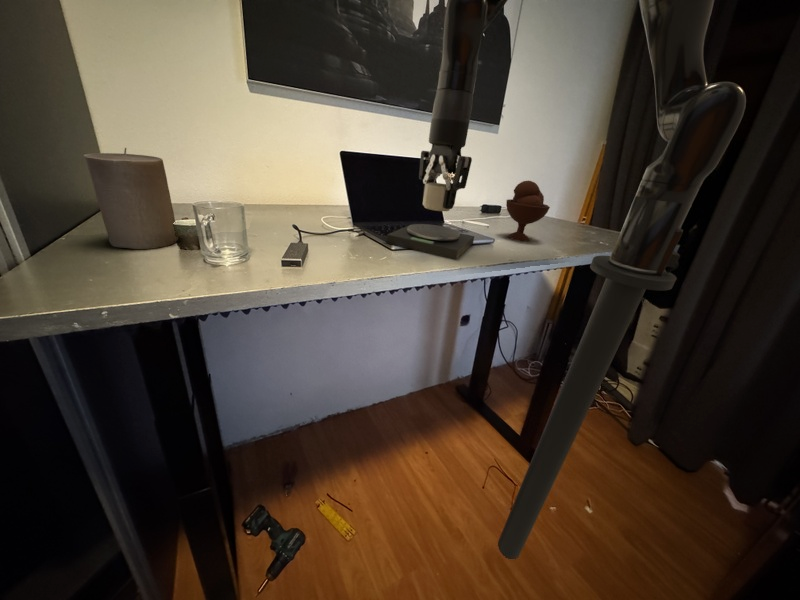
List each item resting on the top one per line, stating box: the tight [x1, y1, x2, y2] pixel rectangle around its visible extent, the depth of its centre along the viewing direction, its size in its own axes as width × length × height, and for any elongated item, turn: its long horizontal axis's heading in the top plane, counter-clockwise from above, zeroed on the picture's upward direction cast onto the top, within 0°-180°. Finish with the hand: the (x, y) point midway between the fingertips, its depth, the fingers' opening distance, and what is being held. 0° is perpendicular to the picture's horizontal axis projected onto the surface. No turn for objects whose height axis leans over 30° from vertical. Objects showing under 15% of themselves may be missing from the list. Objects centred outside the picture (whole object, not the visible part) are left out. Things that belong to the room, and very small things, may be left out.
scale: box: [386, 223, 475, 260], centre depth 75 cm, size 16×15×2 cm
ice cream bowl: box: [505, 180, 551, 242], centre depth 86 cm, size 11×11×15 cm
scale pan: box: [407, 223, 461, 241], centre depth 74 cm, size 12×12×1 cm
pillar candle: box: [83, 147, 179, 250], centre depth 54 cm, size 10×10×15 cm
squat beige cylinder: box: [422, 182, 451, 212], centre depth 71 cm, size 6×6×5 cm
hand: (437, 204), depth 71 cm, fingers closed on squat beige cylinder, 6 cm apart
